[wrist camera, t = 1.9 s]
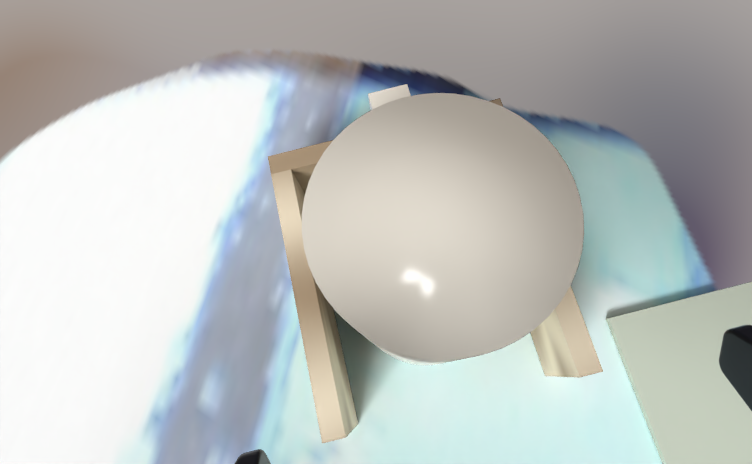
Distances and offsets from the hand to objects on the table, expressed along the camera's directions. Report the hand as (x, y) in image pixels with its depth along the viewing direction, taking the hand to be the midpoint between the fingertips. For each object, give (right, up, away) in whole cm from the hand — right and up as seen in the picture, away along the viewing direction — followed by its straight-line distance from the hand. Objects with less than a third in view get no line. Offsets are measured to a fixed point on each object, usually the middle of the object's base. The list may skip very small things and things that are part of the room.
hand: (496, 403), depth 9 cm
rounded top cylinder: (0, 0, +12) cm, 12 cm away
